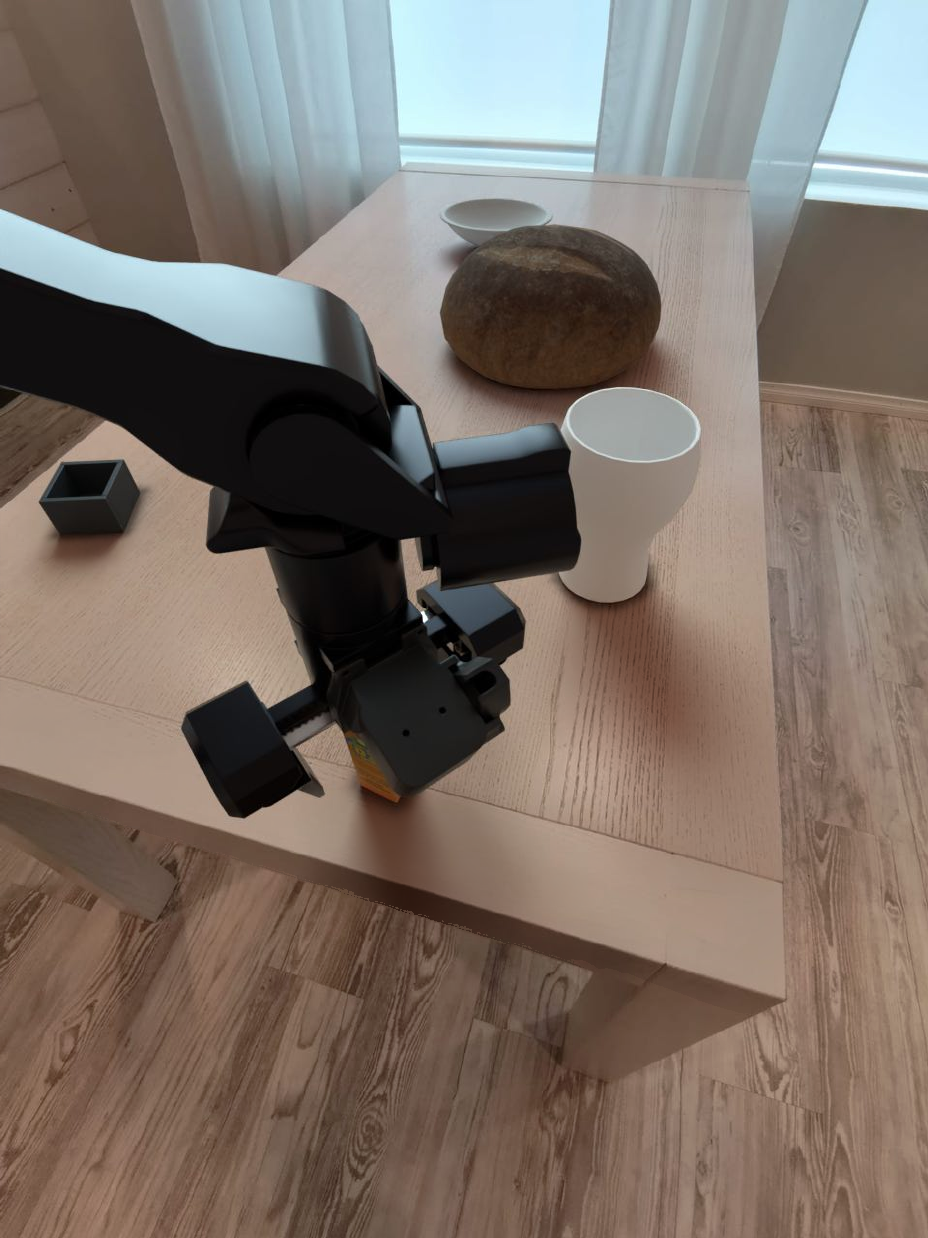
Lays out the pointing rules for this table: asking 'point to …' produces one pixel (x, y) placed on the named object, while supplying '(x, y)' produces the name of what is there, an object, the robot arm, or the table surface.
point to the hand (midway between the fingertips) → (382, 751)
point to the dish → (492, 217)
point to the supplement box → (368, 768)
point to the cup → (626, 483)
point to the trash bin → (90, 497)
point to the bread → (551, 307)
